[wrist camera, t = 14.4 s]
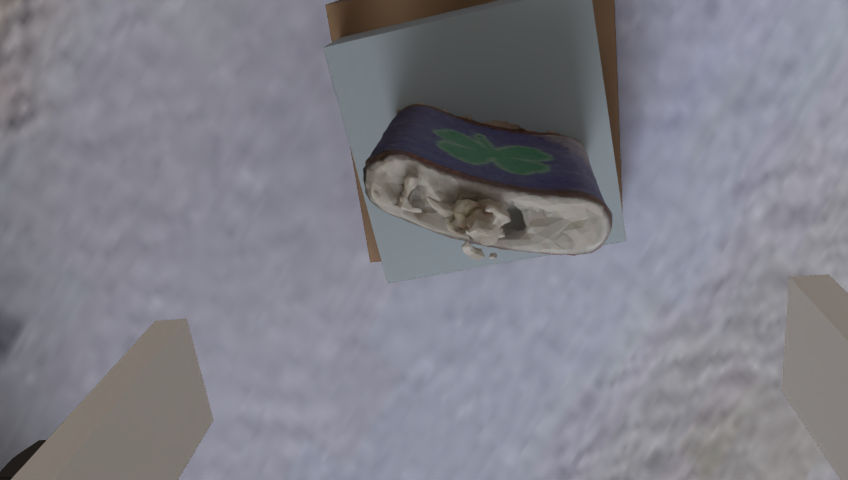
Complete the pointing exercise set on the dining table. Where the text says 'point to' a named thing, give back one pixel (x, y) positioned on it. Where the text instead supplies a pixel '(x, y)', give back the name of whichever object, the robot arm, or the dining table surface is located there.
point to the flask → (488, 183)
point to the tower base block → (397, 3)
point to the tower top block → (476, 102)
